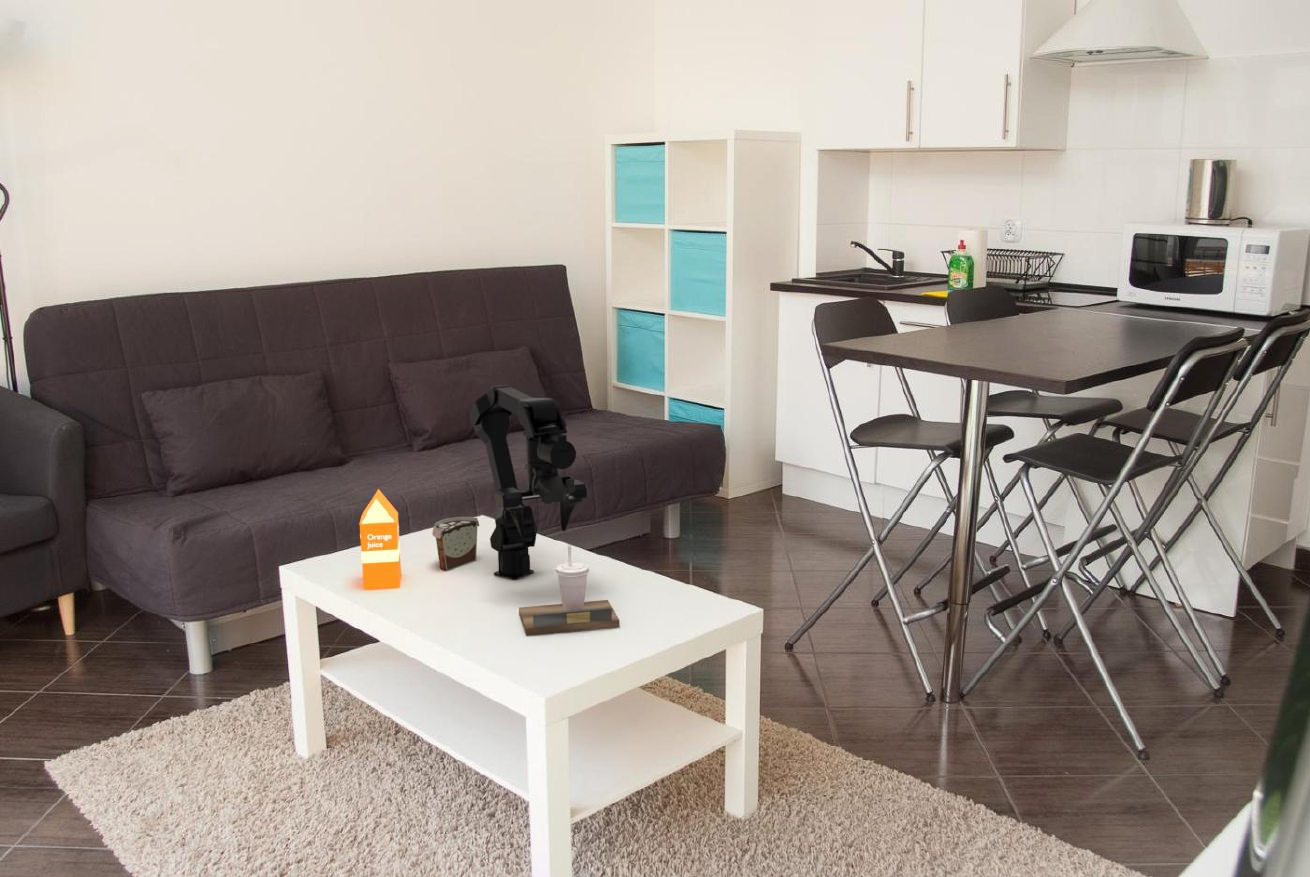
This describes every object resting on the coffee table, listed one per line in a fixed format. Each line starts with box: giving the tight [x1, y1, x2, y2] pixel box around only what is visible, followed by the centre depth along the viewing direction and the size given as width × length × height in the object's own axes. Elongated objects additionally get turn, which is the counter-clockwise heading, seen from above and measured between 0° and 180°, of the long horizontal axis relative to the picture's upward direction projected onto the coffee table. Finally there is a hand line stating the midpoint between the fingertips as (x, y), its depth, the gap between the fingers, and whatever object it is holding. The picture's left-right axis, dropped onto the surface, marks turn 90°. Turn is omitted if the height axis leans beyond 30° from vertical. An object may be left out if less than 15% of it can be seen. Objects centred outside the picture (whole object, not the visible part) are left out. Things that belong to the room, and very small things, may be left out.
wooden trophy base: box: [518, 599, 620, 637], centre depth 228 cm, size 12×18×4 cm
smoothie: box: [555, 544, 590, 611], centre depth 226 cm, size 6×6×14 cm
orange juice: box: [359, 488, 402, 591], centre depth 251 cm, size 8×9×20 cm
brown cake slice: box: [431, 516, 480, 572], centre depth 265 cm, size 12×6×10 cm, turn 144°
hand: (543, 533), depth 242 cm, fingers open, 9 cm apart
